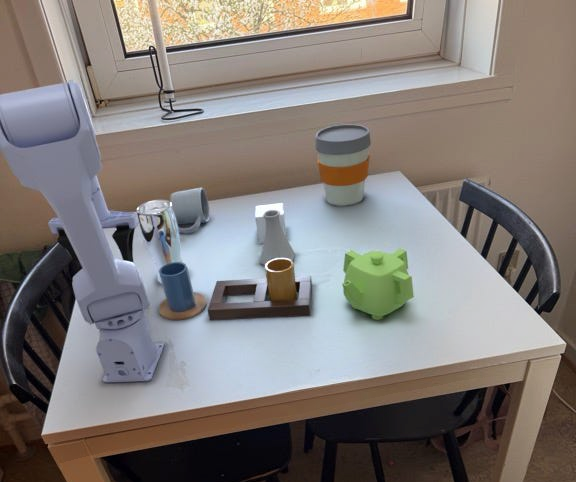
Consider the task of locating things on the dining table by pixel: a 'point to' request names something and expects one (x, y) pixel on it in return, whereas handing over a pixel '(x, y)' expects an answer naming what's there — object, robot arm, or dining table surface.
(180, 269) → the blue cup
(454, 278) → the dining table surface
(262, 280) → the cup holder
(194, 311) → the coaster
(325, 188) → the reusable coffee cup
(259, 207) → the white cube
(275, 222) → the flask
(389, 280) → the teapot
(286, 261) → the ochre cup
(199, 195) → the ceramic mug
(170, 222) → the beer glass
